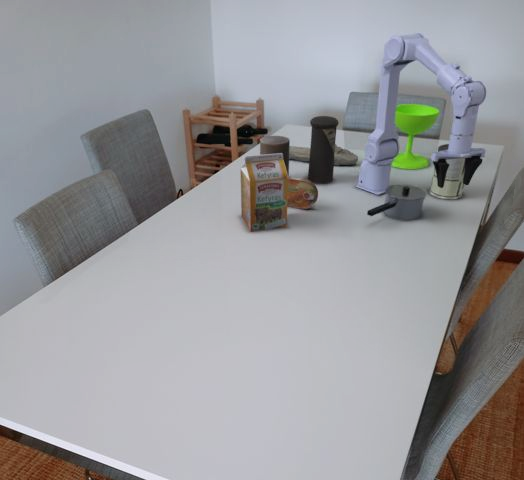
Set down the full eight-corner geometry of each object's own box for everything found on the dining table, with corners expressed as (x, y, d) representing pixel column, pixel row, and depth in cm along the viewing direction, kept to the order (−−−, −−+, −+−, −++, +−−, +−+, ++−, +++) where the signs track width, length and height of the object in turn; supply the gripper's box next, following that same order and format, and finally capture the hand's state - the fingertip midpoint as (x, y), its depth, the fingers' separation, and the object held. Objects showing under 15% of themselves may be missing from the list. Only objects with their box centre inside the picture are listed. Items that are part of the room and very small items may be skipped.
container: (331, 185, 170) (337, 121, 157) (305, 183, 171) (308, 120, 159) (334, 176, 176) (340, 114, 164) (308, 174, 178) (312, 113, 165)
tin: (269, 202, 158) (270, 175, 153) (274, 199, 160) (274, 172, 155) (314, 211, 153) (316, 184, 147) (318, 208, 155) (320, 180, 150)
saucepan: (352, 220, 148) (355, 195, 143) (398, 201, 159) (402, 177, 154) (383, 234, 141) (388, 208, 136) (429, 213, 152) (435, 188, 147)
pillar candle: (288, 187, 168) (290, 140, 159) (259, 186, 169) (259, 139, 159) (288, 176, 176) (289, 131, 167) (260, 176, 176) (260, 130, 167)
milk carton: (250, 231, 142) (249, 162, 130) (241, 216, 150) (240, 150, 138) (286, 227, 144) (288, 159, 132) (275, 212, 152) (277, 147, 140)
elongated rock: (272, 153, 200) (263, 162, 193) (271, 139, 196) (262, 148, 190) (360, 159, 189) (354, 169, 182) (361, 144, 185) (355, 154, 178)
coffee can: (426, 187, 169) (435, 143, 160) (458, 188, 168) (469, 144, 159) (431, 199, 161) (441, 153, 152) (465, 200, 160) (476, 154, 151)
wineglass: (376, 158, 192) (383, 106, 180) (410, 152, 197) (419, 102, 186) (402, 171, 180) (411, 117, 169) (438, 165, 186) (449, 112, 174)
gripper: (443, 139, 130) (435, 192, 137) (495, 134, 132) (484, 187, 139) (431, 133, 135) (423, 184, 143) (481, 129, 137) (471, 179, 145)
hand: (453, 185), depth 142 cm, fingers open, 7 cm apart
